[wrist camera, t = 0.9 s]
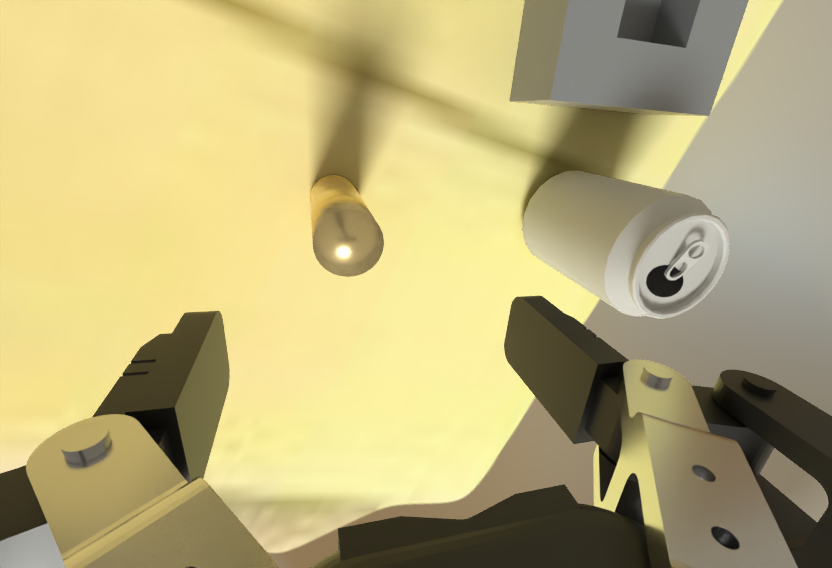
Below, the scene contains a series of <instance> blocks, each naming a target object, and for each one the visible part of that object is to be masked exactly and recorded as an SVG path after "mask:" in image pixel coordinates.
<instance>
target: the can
mask: <svg viewBox="0 0 832 568" xmlns="http://www.w3.org/2000/svg"><path fill="white" fill-rule="evenodd" d="M522 231H523V236H524V241H525V244H526V245H527V247H528V249H529V250H530V252H531V253H532V254H533V255H534V256H536V257H537V258H538V259H540V260H541V261H543V262H544V263H546V264H547V265H549V266H551V267H552V268H554V269H555V270H557V271H558V272H560V273H561V274H563V275H564V276H566V277H568V278H569V279H571V280H572V281H574V282H575V283H577V284H578V285H580V286H581V287H583V288H585V289H586V290H588V291H589V292H591V293H592V294H594V295H595V296H597V297H599V298H600V299H602V300H603V301H605V302H606V303H608V304H609V305H611V306H613V307H614V308H616V309H617V310H619V311H620V312H622V313H623V314H628V315H632V316H637V317H639V316H645V315H647V316H649V317H654V318H659V319H662V318H668V317H674V316H676V315H679V314H681V313H683V312H685V311H687V310H690V309H691V308H692V307H694V306H695V305H696V304H697V303H699V302H700V301H701V300H702V299H704V298H705V296H706V295H707V294H708V293H709V292H710V291H711V290H712V289H713V288H714V286H715V285H716V283H717V281H718V280H719V278H720V276H721V275H722V273H723V272H724V269H725V266H726V263H727V260H728V257H729V248H730V238H729V234H728V230H727V227H726V225H725V224H724V223H723V222H722V221H721V220H720V219H719V217H717V216H714V215H712V214H711V211H710V210H709V209H708V208H707V206H706V205H705V204H704V203H703V202H702V201H701V200H699V199H696V198H693V197H691V196H688V195H684V194H680V193H676V192H671V191H667V190H662V189H658V188H654V187H649V186H645V185H641V184H636V183H632V182H628V181H623V180H619V179H615V178H610V177H606V176H601V175H597V174H593V173H588V172H584V171H580V170H578V171H565V172H563V173H560V174H558V175H555V176H553V177H551V178H550V179H549V180H547V181H546V182H545V183H544V184H543V185H541V186H540V187H539V188H538V190H537V191H536V192H535V194H534V195H533V196H532V198H531V199H530V201H529V203H528V206H527V208H526V211H525V213H524V219H523V228H522Z"/></svg>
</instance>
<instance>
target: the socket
mask: <svg viewBox="0 0 832 568" xmlns="http://www.w3.org/2000/svg"><path fill="white" fill-rule="evenodd" d="M747 3H748V0H525V5H524V12H523V18H522V25H521V31H520V38H519V44H518V51H517V58H516V64H515V71H514V77H513V84H512V91H511V97H510V101H512V102H523V103H533V104H544V105H554V106H565V107H575V108H586V109H596V110H607V111H617V112H628V113H638V114H649V115H695V116H709V115H710V112H711V109H712V106H713V103H714V100H715V97H716V95H717V92H718V89H719V86H720V83H721V80H722V77H723V74H724V71H725V68H726V65H727V62H728V59H729V56H730V53H731V50H732V47H733V45H734V42H735V39H736V36H737V33H738V30H739V27H740V24H741V21H742V18H743V15H744V12H745V9H746V6H747Z"/></svg>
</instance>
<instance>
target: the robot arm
mask: <svg viewBox="0 0 832 568" xmlns="http://www.w3.org/2000/svg"><path fill="white" fill-rule="evenodd" d="M504 350H505V355H506V358H507V361H508V362H509V364H510V365H511V366H512V368H513V369H514V370H515V371H516V373H517V374H518V375H519V376H520V378H521V379H522V380H523V381H524V383H525V384H526V385H527V386H528V388H529V389H530V390H531V391H532V393H533V394H534V395H535V396H536V398H537V399H538V400H539V401H540V402H541V404H542V405H543V406H544V407H545V408H546V410H547V411H548V412H549V414H550V415H551V416H552V417H553V419H554V420H555V421H556V422H557V424H558V425H559V426H560V427H561V429H562V430H563V431H564V432H565V434H566V435H567V436H568V437H569V439H570V440H571V441H572V442H573V444H577V443H583V442H589V441H595V442H596V443H597V446H596V450H595V452H594V457H593V458H594V506H590V505H585V504H578V503H577V502H576V500H575V499H574V497H573V496H572V495H571V493H570V492H569V490H568V489H567V487H566V486H565V485H559V486H554V487H550V488H544V489H539V490H534V491H529V492H524V493H518V494H515V495H513V496H511V497H509V498H507V499H505V500H503V501H501V502H499V503H498V504H496V505H494V506H492V507H490V508H488V509H486V510H484V511H483V512H481V513H479V514H477V515H475V516H473V517H471V518H468V519H464V520H456V519H439V518H420V517H402V516H400V517H395V518H390V519H385V520H380V521H374V522H369V523H364V524H359V525H354V526H349V527H343V528H338V551H337V552H335V553H333V554H332V555H330V556H328V557H326V558H325V559H323V560H321V561H320V562H318V563H317V564H315V565H314V566H312V567H310V568H832V416H830V415H829V414H827V413H825V412H824V411H822V410H820V409H818V408H817V407H815V406H814V405H812V404H811V403H809V402H807V401H806V400H804V399H802V398H801V397H799V396H797V395H796V394H794V393H792V392H791V391H789V390H787V389H786V388H784V387H783V386H781V385H779V384H777V383H775V382H773V381H771V380H769V379H767V378H765V377H762V376H759V375H756V374H753V373H749V372H746V371H740V370H725V371H723V372H722V373H721V374H720V376H719V378H718V381H717V383H716V385H715V387H714V388H709V387H701V386H692V385H691V384H690V382H688V380H687V379H686V378H685V377H684V376H683V375H681V374H680V373H678V372H677V371H675V370H673V369H671V368H669V367H667V366H665V365H662V364H659V363H656V362H652V361H647V360H640V359H636V360H628V359H626V358H625V357H624V356H623V355H621V354H620V353H619V352H617V351H616V350H615V349H613V348H612V347H611V346H609V345H608V344H607V343H606V342H604V341H603V340H602V339H600V338H599V337H598V338H597V337H596V335H595V334H594V333H593V332H591V331H590V330H587V329H586V327H585V326H584V325H582V324H581V323H580V322H579V321H577V320H576V319H575V318H573V317H571V316H569V315H566V314H564V313H563V312H562V311H560V310H559V309H558V308H557V307H555V306H554V305H553V304H551V303H550V302H549V301H548V300H546V299H545V298H544V297H542V296H525V297H516V298H515V299H514V300H513V302H512V305H511V310H510V315H509V321H508V326H507V332H506V337H505V343H504ZM228 387H229V361H228V354H227V347H226V340H225V333H224V326H223V319H222V315H221V313H220V311H209V312H188V313H184V315H183V316H182V318H181V319H180V321H179V323H178V324H177V326H176V328H175V329H174V331H173V333H172V334H159V335H158V336H156V337H155V338H154V339H152V340H151V341H149V342H148V343H146V344H145V345H143V346H142V347H141V348H140V349H139V351H138V352H137V354H136V355H135V357H134V358H133V359H132V361H131V364H129V365H128V367H127V368H126V369H125V371H124V372H123V376H122V377H120V378H119V379H118V381H117V382H116V384H115V385H114V387H113V388H112V390H111V391H110V392H109V394H108V395H107V397H106V398H105V400H104V401H103V402H102V404H101V405H100V407H99V408H98V410H97V411H96V412H95V414H94V415H93V417H92V418H89V419H85V420H82V421H80V422H77V423H74V424H72V425H70V426H68V427H66V428H64V429H62V430H60V431H58V432H57V433H55V434H54V435H52V436H51V437H49V438H48V439H46V440H45V441H44V442H43V443H41V444H40V445H39V446H38V447H37V448H36V449H35V450H34V452H33V453H32V454H31V456H30V457H29V459H28V462H27V465H26V466H23V467H20V468H17V469H14V470H11V471H8V472H4V473H1V474H0V568H280V567H279V566H278V565H277V564H276V563H275V561H274V560H273V559H272V558H271V557H270V556H269V554H268V553H267V552H266V551H265V550H264V549H263V547H262V546H261V545H260V544H259V543H258V541H257V540H256V539H255V538H254V537H253V536H252V534H251V533H250V532H249V531H248V530H247V529H246V527H245V526H244V525H243V524H242V523H241V522H240V520H239V519H238V518H237V517H236V516H235V515H234V513H233V512H232V511H231V510H230V509H229V508H228V506H227V505H226V504H225V503H224V502H223V501H222V499H221V498H220V497H219V496H218V495H217V494H216V492H215V491H214V490H213V489H212V488H211V487H210V485H209V484H208V483H207V482H206V481H205V480H203V477H204V474H205V470H206V466H207V463H208V459H209V456H210V452H211V449H212V445H213V441H214V438H215V434H216V431H217V427H218V423H219V420H220V416H221V413H222V409H223V406H224V402H225V398H226V395H227V391H228ZM774 448H776V449H777V450H778V451H780V452H781V453H782V454H784V455H785V456H786V457H788V458H789V459H790V460H791V461H793V462H794V463H795V464H797V465H798V466H799V467H801V468H802V469H803V470H805V471H806V472H807V473H808V474H810V475H811V476H812V477H814V478H815V479H816V480H817V481H818V482H819V483H820V484H821V485H822V486H823V488H824V489H825V491H826V493H827V496H828V500H829V505H828V508H827V510H826V511H825V513H824V514H823V516H822V517H821V518H820V520H819V522H818V523H817V522H816V521H815V520H813V519H812V518H811V517H810V516H809V515H807V514H806V513H805V512H804V511H803V510H801V509H800V508H799V507H798V506H797V505H796V504H794V503H793V502H792V501H791V500H790V499H788V498H787V497H786V496H785V495H784V494H782V493H781V492H780V491H779V490H778V489H777V488H775V487H774V486H773V485H772V484H771V483H770V482H768V481H767V480H766V479H765V478H764V477H763V476H761V475H760V472H761V470H762V469H763V467H764V465H765V463H766V461H767V460H768V458H769V456H770V454H771V453H772V451H773V449H774Z"/></svg>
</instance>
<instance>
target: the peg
mask: <svg viewBox="0 0 832 568" xmlns="http://www.w3.org/2000/svg"><path fill="white" fill-rule="evenodd" d="M310 205H311V221H312V237H313V249H314V253H315V256H316V258H317V260H318V261H319V263H320V264H321V265H322V266H323V267H324V268H325V269H326V270H328V271H329V272H331V273H333V274H336V275H339V276H348V277H349V276H356V275H360V274H362V273H365V272H366V271H368V270H370V269H371V268H372V267H373V266H374V265H375V264H376V263H377V261H378V260H379V258H380V256H381V254H382V251H383V245H384V239H383V234H382V231H381V229H380V227H379V225H378V224H377V222H376V221H375V219H374V217H373V216H372V214H371V213H370V211H369V209H368V208H367V206H366V205H365V203H364V201H363V200H362V198H361V197H360V195H359V194H358V192H357V190H356V189H355V187H354V186H353V184H352V183H351V182H350V181H349V180H347V179H346V178H344V177H342V176H338V175H328V176H325V177H323V178H321V179H319V180H318V181H317V182H316V183H315V184H314V186H313V188H312V190H311V194H310Z"/></svg>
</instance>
